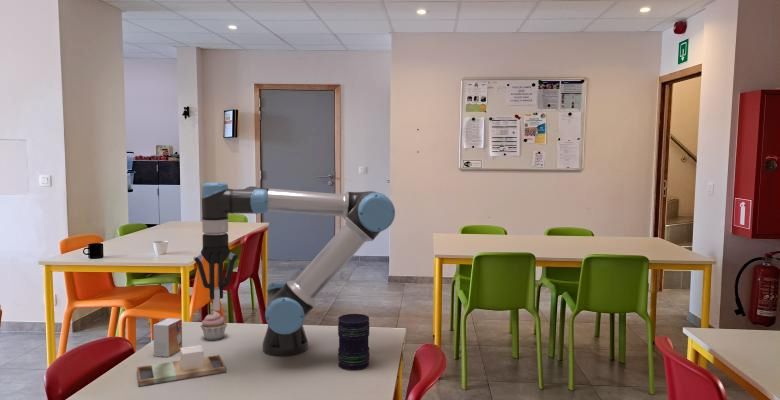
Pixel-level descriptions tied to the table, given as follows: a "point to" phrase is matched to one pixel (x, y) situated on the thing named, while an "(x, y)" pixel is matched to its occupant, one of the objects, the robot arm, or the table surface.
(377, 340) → the table surface
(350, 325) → the storage jar
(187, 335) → the table surface
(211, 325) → the cupcake
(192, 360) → the block
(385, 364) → the table surface
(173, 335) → the small box
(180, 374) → the board
